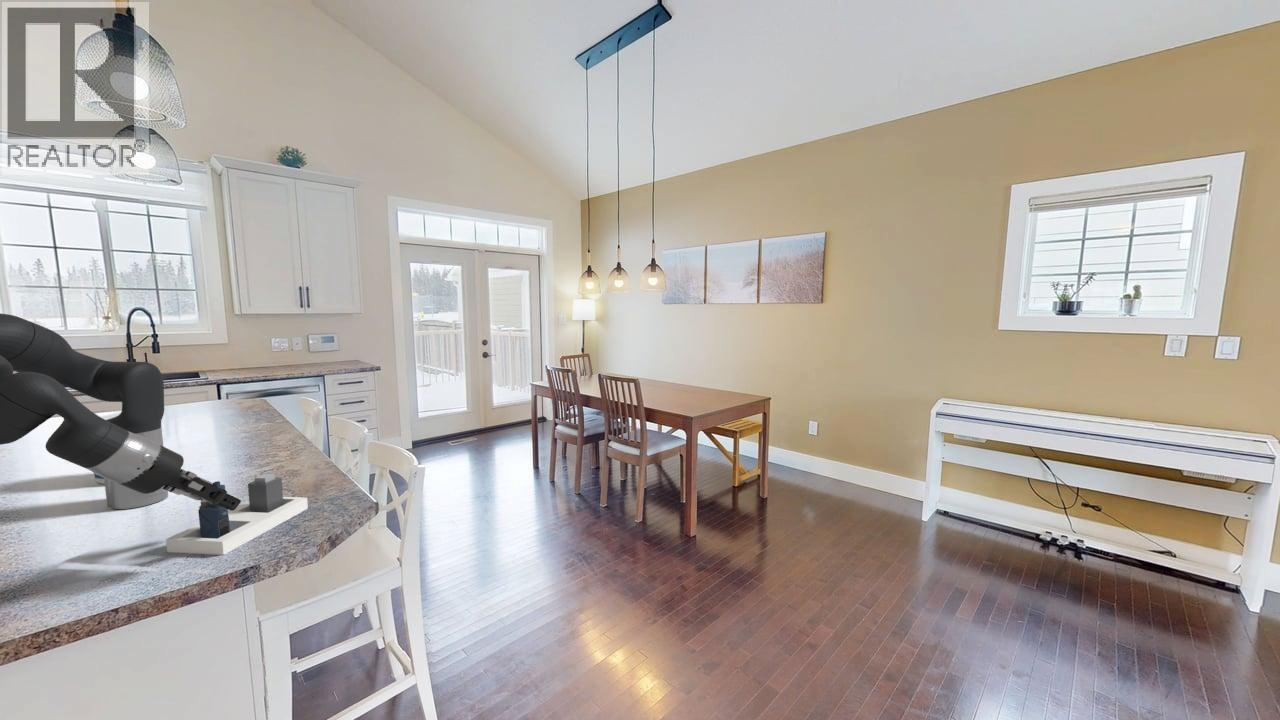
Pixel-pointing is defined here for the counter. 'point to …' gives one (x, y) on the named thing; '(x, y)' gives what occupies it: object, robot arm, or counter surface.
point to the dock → (236, 529)
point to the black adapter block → (265, 493)
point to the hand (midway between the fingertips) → (224, 501)
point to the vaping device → (213, 517)
